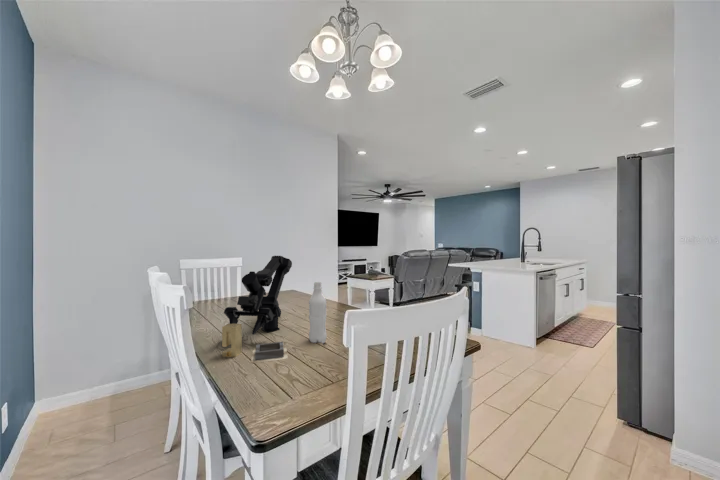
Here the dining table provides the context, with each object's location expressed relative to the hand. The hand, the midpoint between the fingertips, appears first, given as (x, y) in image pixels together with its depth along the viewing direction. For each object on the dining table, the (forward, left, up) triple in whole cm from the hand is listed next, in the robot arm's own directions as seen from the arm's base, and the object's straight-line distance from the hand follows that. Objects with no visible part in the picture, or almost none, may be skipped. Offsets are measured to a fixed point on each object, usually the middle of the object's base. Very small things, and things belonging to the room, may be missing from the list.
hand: (241, 333), depth 109 cm
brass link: (+5, +4, -7) cm, 9 cm away
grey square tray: (-5, +13, -7) cm, 16 cm away
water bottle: (-26, +13, -7) cm, 30 cm away
